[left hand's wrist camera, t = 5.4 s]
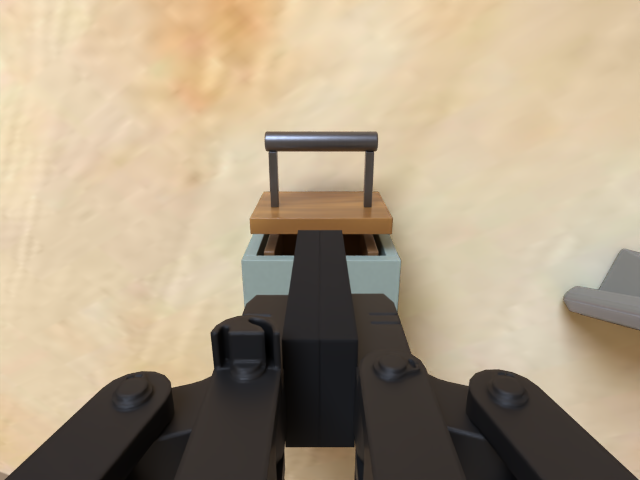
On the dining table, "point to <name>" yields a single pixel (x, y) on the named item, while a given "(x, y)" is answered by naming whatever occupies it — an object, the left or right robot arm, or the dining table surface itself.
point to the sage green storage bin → (363, 270)
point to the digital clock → (612, 294)
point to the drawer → (321, 198)
